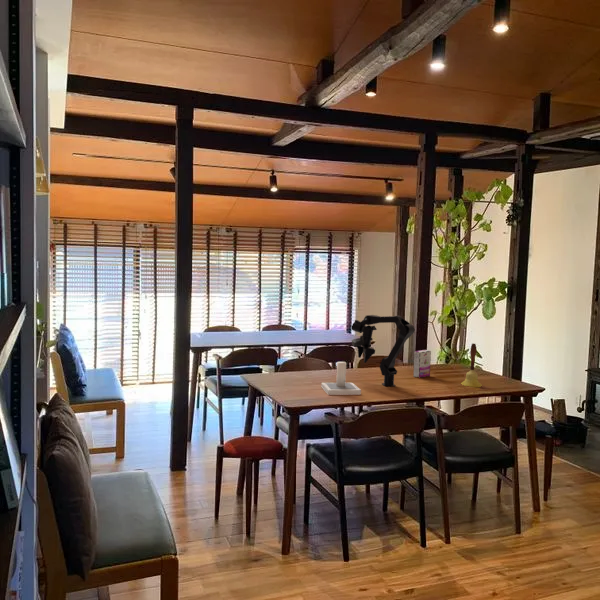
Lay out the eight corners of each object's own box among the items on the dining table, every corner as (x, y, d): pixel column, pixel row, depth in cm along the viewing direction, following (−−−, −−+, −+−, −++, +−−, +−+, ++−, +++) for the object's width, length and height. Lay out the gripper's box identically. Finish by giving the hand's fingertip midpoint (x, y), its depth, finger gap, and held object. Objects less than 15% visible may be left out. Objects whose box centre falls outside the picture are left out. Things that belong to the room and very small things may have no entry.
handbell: (479, 388, 328) (481, 346, 326) (458, 385, 334) (460, 343, 333) (484, 384, 338) (486, 343, 337) (463, 381, 345) (466, 341, 343)
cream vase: (347, 386, 308) (348, 362, 307) (340, 387, 305) (341, 363, 304) (340, 384, 312) (341, 361, 311) (334, 385, 309) (335, 362, 308)
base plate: (360, 394, 301) (360, 389, 301) (327, 394, 298) (328, 389, 298) (352, 386, 319) (352, 382, 319) (321, 387, 316) (321, 382, 316)
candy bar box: (423, 374, 362) (425, 349, 361) (430, 376, 358) (431, 350, 357) (412, 376, 355) (414, 350, 354) (419, 378, 351) (420, 352, 350)
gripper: (349, 329, 342) (344, 354, 345) (360, 338, 324) (355, 364, 327) (365, 331, 345) (361, 355, 348) (377, 340, 327) (372, 365, 330)
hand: (362, 360), depth 338 cm, fingers open, 9 cm apart
